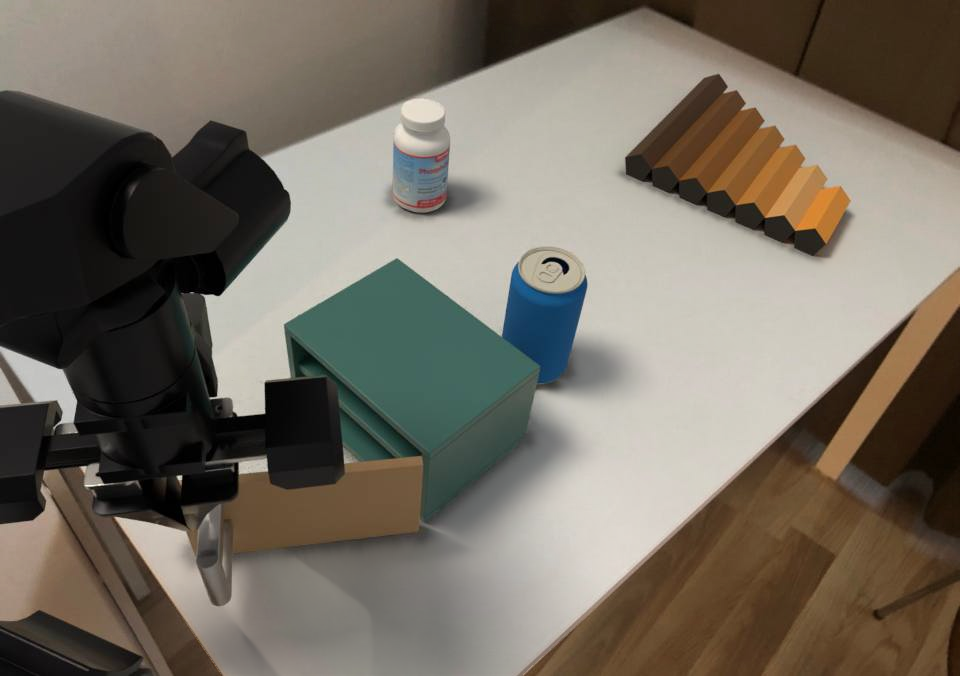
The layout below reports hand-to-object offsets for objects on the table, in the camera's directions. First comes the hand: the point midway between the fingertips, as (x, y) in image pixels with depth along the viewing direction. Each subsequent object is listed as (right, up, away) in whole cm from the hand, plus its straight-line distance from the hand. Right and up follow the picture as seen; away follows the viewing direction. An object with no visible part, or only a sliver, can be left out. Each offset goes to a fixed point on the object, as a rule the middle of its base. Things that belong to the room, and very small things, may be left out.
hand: (191, 523), depth 49 cm
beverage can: (+22, +9, +26) cm, 36 cm away
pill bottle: (+11, +27, +42) cm, 51 cm away
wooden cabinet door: (+5, -6, +10) cm, 13 cm away
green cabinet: (+11, +4, +21) cm, 24 cm away
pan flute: (+52, +33, +52) cm, 81 cm away
